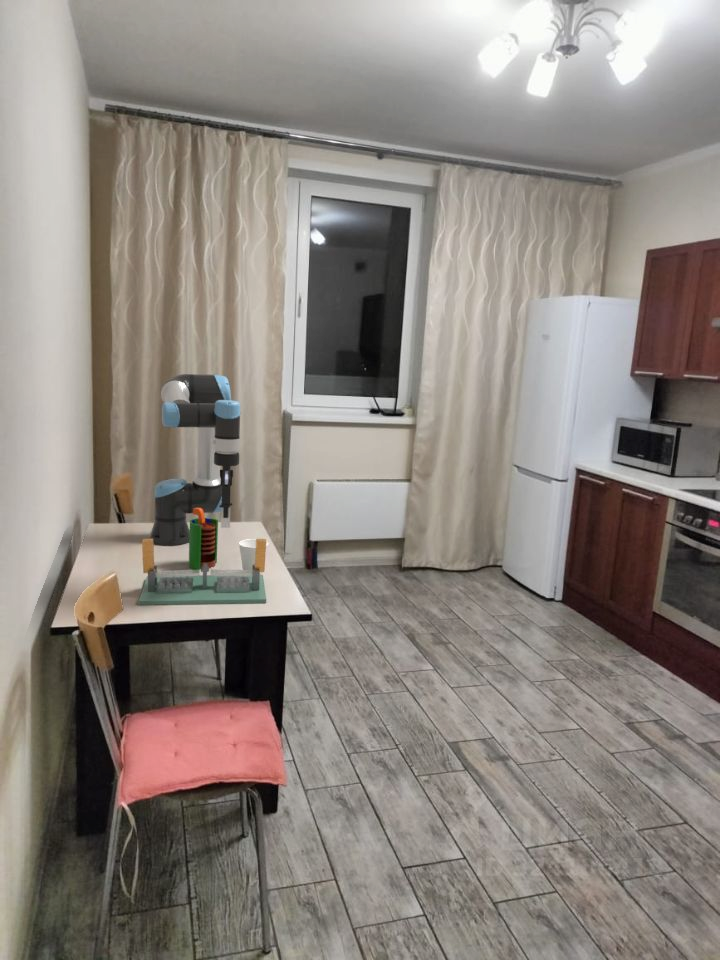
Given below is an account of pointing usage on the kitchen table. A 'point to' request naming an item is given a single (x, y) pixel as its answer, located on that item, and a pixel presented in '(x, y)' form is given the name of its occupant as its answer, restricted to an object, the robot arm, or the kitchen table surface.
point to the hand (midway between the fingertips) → (225, 526)
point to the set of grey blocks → (186, 583)
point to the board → (203, 593)
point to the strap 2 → (259, 565)
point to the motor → (202, 540)
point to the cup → (248, 553)
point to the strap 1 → (149, 563)
